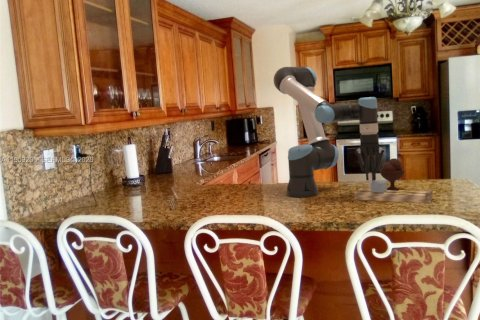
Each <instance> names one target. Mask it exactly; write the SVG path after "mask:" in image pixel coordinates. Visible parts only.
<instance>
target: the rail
mask: <svg viewBox="0 0 480 320" xmlns="http://www.w3.org/2000/svg"><path fill="white" fill-rule="evenodd" d="M433 194H434V193H433V189H427V190H426V191H421V190H420V191H415V190H404V189H399V190H398V191H391V190H386V191H385V193H375V192H371V189H361V188H360V189H358V190H357V191H355V192H354V200H359V201H376V202H377V201H378V202H400V203H401V202H402V203H416V204H417V203H418V204H419V203H422V204H431V203H432V201H433V199H434V198H433Z"/></svg>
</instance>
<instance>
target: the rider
mask: <svg viewBox="0 0 480 320" xmlns="http://www.w3.org/2000/svg"><path fill="white" fill-rule="evenodd" d="M387 188H388V181H387V180H386V179H384V180H381V179H379V180H378V179H376V180H375V181H373V182H372V183H371V189H370V190H371V192H375V193H385V191H386V190H387Z"/></svg>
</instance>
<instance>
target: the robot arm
mask: <svg viewBox="0 0 480 320" xmlns="http://www.w3.org/2000/svg"><path fill="white" fill-rule="evenodd" d="M317 79H318V78H317V74H316V72H315V70H313V68H311V67H309V66H307V67H306V66H284V67H281V68H278V69H277V70H276V71H275V74H274V75H273V85H274V87H275V89H276V90H278V91H279V92H280V93H281V94H283V95H288V96H290V97H291V98H292V99H293V100H295V101H296V102H297V104H298V107H299V111H300V115H301V119H302V121H303V122H302V123H303V126H304V129H305V133H306V136H307V140H308V143H307V144H299V145H296V146H292V147H290V148H289V149H288V150H287V154H288V155H287V160H288V177H289V180H288V184H287V187H286V196H288V197H291V198H309V197H314V196H316V195H317V196H318V195H319V188H318V186H317V182H316V179H315V176H314V174H315V173H314V171H319V170H327V169H330V168H333V167H334V166H336V165H337V163H338V160H339V154H340V153H339V150H338V146H336V145H335V144H332V142H331V140H330V138H328V137H326V133H325V131H324V127H323V124H330V123H339V122H340V123H341V122H350V121H351V122H352V121H358V122H359V134H360V135H359V139H360V140H359V141H360V143H359V147H358V148H357V149H356V150H354V152H353V153H354V154H355V155H356V157H357V161H358V163H359V164H358V165H359V167H360V171H361V172H362V173H365V179H366V181H368V189H369V190H371V183H372V182H373V181H375V180H377V174H376V173H378V172H380V170H381V167H382V164H383V163H382V162H383V159H384V155H385V153H386V151H387V150H386V148H383V147H381V145H380V143H379V142H380V141H379V137H380V136H379V134H378V133H379V120H378V117H379V116H378V107H379V106H378V102H377V101H378V100H377V97H375V96H369V97H360V98H358V102H356V103H340V104H332V103H330V102H329V101H327V100H326V99H324V98H322V97H321V96H319V95H318V94H317V93H315V92H314V91H315V90H316V89H315V87H316V85H317V81H318V80H317ZM378 151H379V152H378ZM377 153H379V154H378V158H377V163H376V155H377ZM362 154H364V155H363V156H364V159H363V156H362ZM364 161H365V162H364ZM370 163H371V164H370ZM370 165H371V166H370ZM370 167H371V168H370ZM370 169H371V170H370Z"/></svg>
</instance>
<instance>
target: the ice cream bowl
mask: <svg viewBox="0 0 480 320" xmlns="http://www.w3.org/2000/svg"><path fill="white" fill-rule="evenodd" d="M405 172H406V170H405V169H403V166H402V162H401V161H400V159H398V158H391V159H389V160H388V161H386V162H384V163H382V164H381V168H380V171H379V174H380V175H381V177H382V178H383V179H384V180H387V182H389V184H390V186H388V187H387V190H391V191H397V190H398V191H399V190H400V189H399V188H398V187H396V186H395V182H396V181H398V180H400V179H402V178H403V176H404V174H405Z"/></svg>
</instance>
